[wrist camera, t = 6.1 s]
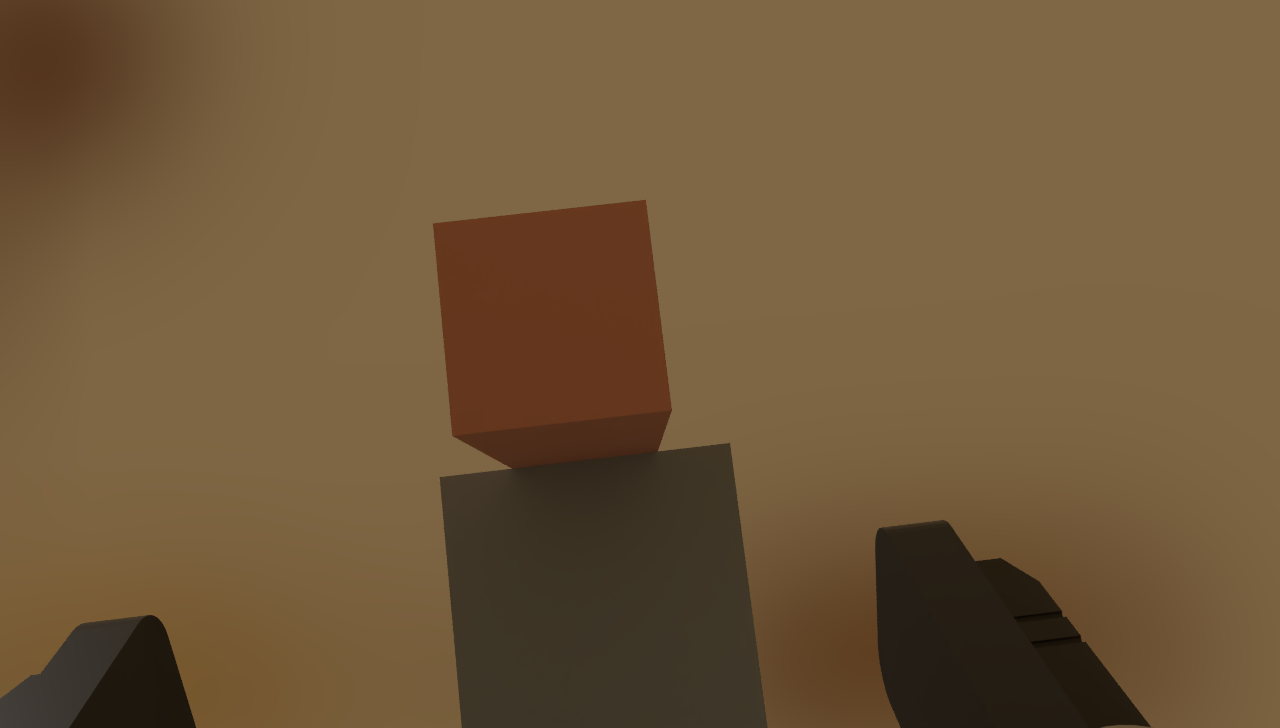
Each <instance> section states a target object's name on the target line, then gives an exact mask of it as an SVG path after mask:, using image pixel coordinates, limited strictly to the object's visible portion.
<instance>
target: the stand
mask: <svg viewBox="0 0 1280 728" xmlns="http://www.w3.org/2000/svg"><path fill="white" fill-rule="evenodd" d="M440 485H441V496H442V508H443V519H444V530H445V541H446V553H447V565H448V576H449V587H450V598H451V610H452V620H453V631H454V643H455V655H456V666H457V677H458V689H459V700H460V711H461V723H462V728H767V721H766V713H765V706H764V698H763V691H762V684H761V675H760V668H759V661H758V653H757V646H756V638H755V631H754V623H753V615H752V608H751V600H750V592H749V585H748V577H747V570H746V562H745V554H744V547H743V539H742V531H741V524H740V516H739V509H738V501H737V494H736V486H735V478H734V471H733V463H732V456H731V448H730V443H728V444H718V445H710V446H701V447H693V448H685V449H677V450H667V451H659V452H650V453H642V454H633V455H625V456H616V457H608V458H600V459H591V460H583V461H574V462H566V463H557V464H549V465H540V466H532V467H523V468H515V469H506V470H498V471H489V472H481V473H472V474H464V475H456V476H447V477H440Z"/></svg>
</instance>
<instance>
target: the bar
mask: <svg viewBox="0 0 1280 728" xmlns="http://www.w3.org/2000/svg"><path fill="white" fill-rule="evenodd" d="M433 228H434V239H435V250H436V260H437V271H438V282H439V294H440V305H441V316H442V327H443V338H444V348H445V360H446V371H447V382H448V392H449V403H450V415H451V425H452V435H453V437H455V438H457V439H459V440H461V441H463V442H465V443H466V444H468V445H470V446H472V447H474V448H476V449H477V450H479V451H481V452H483V453H485V454H486V455H488V456H490V457H492V458H494V459H496V460H497V461H499V462H501V463H503V464H505V465H507V466H508V467H510V468H512V469H515V468H523V467H532V466H540V465H549V464H557V463H566V462H574V461H583V460H591V459H600V458H608V457H616V456H625V455H633V454H642V453H650V452H658V449H659V446H660V443H661V440H662V437H663V434H664V431H665V429H666V426H667V423H668V420H669V417H670V414H671V411H672V408H671V402H670V401H671V400H670V392H669V384H668V376H667V368H666V360H665V353H664V344H663V336H662V327H661V319H660V311H659V303H658V295H657V287H656V279H655V272H654V263H653V255H652V247H651V239H650V231H649V223H648V214H647V206H646V200H642V201H632V202H623V203H614V204H605V205H596V206H587V207H578V208H569V209H561V210H551V211H542V212H533V213H525V214H515V215H506V216H497V217H488V218H479V219H470V220H461V221H452V222H443V223H434V224H433Z"/></svg>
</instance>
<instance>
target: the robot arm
mask: <svg viewBox="0 0 1280 728" xmlns="http://www.w3.org/2000/svg"><path fill="white" fill-rule="evenodd" d="M875 555H876V591H877V625H878V626H877V627H878V651H879V659H880V666H881V672H882V676H883V681H884V685H885V689H886V693H887V696H888V699H889V701H890V704H891V706H892V709H893V711H894V713H895V716H896V718H897V720H898V722H899V725H900V727H901V728H1152V727H1151V726H1150V725H1149V724H1148V723H1147V721H1146V720H1145V719H1144V717H1143V716H1142V715H1141V713H1140V712H1139V711H1138V710H1137V708H1136V707H1135V706H1134V704H1133V703H1132V702H1131V700H1130V699H1129V698H1128V697H1127V695H1126V694H1125V693H1124V691H1123V690H1122V689H1121V687H1120V686H1119V685H1118V683H1117V682H1116V681H1115V680H1114V678H1113V677H1112V676H1111V674H1110V673H1109V672H1108V671H1107V669H1106V668H1105V667H1104V666H1103V664H1102V663H1101V661H1100V660H1099V659H1098V657H1097V656H1096V655H1095V654H1094V652H1093V651H1092V650H1091V648H1090V647H1089V646H1088V644H1087V643H1086V642H1082V641H1081V636H1080V634H1079V633H1078V631H1076V629H1075V628H1074V626H1073V625H1072V624H1071V622H1070V621H1069V620H1068V619H1067V617H1063V616H1062V611H1061V609H1060V608H1059V607H1058V606H1057V604H1056V603H1055V602H1054V600H1053V599H1052V598H1051V596H1050V595H1049V594H1048V592H1047V591H1046V590H1045V589H1044V587H1043V586H1042V585H1041V583H1040V582H1039V581H1038V580H1036V579H1034V578H1032V577H1031V576H1029V575H1028V574H1026V573H1024V572H1023V571H1021V570H1019V569H1018V568H1016V567H1014V566H1013V565H1011V564H1009V563H1008V562H1006V561H1005V560H1003V559H1001V558H998V559H991V560H982V561H974V559H973V558H972V556H971V555H970V553H969V552H968V550H967V549H966V547H965V546H964V544H963V543H962V541H961V540H960V539H959V537H958V536H957V534H956V533H955V531H954V530H953V528H952V527H951V526H950V524H949V523H948V522H946V521H944V520H940V521H933V522H924V523H916V524H908V525H899V526H892V527H883V528H879V529H878V531H877V534H876V542H875ZM0 728H196V727H195V723H194V719H193V716H192V713H191V709H190V706H189V703H188V700H187V696H186V693H185V690H184V687H183V683H182V680H181V677H180V674H179V670H178V667H177V664H176V660H175V657H174V654H173V651H172V648H171V645H170V641H169V638H168V635H167V632H166V629H165V627H164V625H163V624H162V622H161V621H160V620H159V619H158V618H157V617H155V616H153V615H147V616H138V617H131V618H123V619H114V620H106V621H98V622H89V623H83V624H80V625H79V626H77V627H76V628H75V629H74V630H73V631H72V633H71V634H70V635H69V637H68V638H67V640H66V641H65V642H64V643H63V645H62V646H61V647H60V649H59V650H58V651H57V653H56V654H55V655H54V657H53V658H52V659H51V661H50V662H49V663H48V665H47V666H46V667H45V668H44V670H43V671H42V672H41V674H38V675H31V676H30V677H28V678H27V679H26V680H24V681H23V682H22V683H20V684H19V685H18V686H17V687H15V688H14V689H13V690H11V691H10V692H9V693H7V694H6V695H5V696H3V697H2V698H1V699H0Z"/></svg>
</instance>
